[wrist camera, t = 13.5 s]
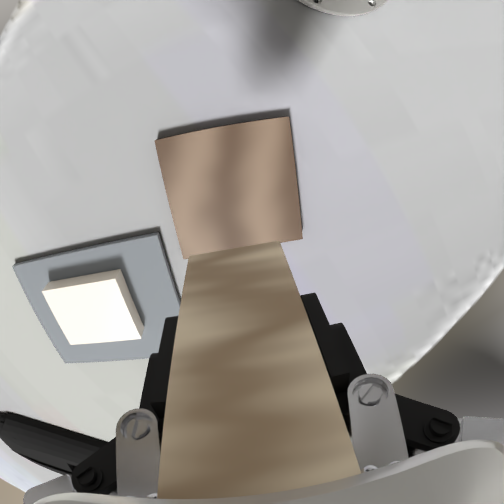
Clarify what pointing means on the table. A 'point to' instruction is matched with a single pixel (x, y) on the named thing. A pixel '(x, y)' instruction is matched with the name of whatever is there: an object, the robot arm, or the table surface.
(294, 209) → the plate
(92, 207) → the table surface
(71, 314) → the tile
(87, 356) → the mat
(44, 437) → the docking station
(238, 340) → the block
